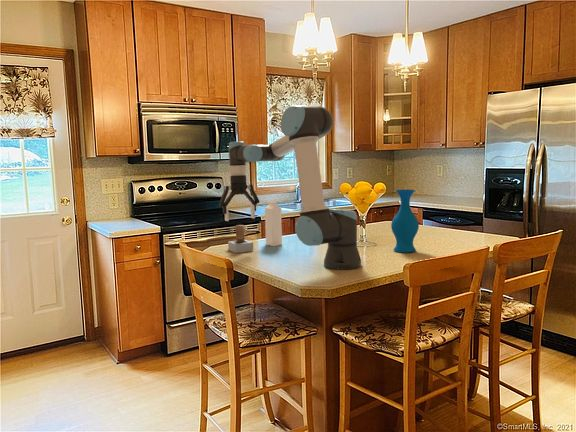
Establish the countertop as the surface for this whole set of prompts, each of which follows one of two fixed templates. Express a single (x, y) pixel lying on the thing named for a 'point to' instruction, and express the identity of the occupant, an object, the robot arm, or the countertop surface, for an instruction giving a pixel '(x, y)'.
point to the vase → (404, 224)
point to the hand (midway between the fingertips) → (240, 219)
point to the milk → (273, 224)
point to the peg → (240, 234)
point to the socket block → (240, 246)
